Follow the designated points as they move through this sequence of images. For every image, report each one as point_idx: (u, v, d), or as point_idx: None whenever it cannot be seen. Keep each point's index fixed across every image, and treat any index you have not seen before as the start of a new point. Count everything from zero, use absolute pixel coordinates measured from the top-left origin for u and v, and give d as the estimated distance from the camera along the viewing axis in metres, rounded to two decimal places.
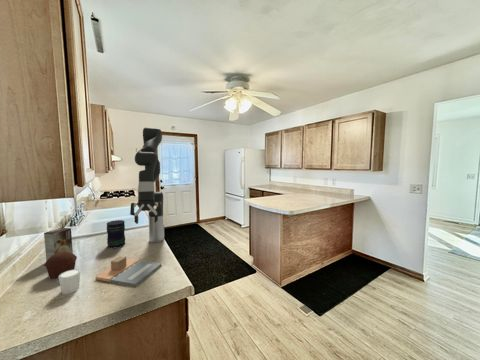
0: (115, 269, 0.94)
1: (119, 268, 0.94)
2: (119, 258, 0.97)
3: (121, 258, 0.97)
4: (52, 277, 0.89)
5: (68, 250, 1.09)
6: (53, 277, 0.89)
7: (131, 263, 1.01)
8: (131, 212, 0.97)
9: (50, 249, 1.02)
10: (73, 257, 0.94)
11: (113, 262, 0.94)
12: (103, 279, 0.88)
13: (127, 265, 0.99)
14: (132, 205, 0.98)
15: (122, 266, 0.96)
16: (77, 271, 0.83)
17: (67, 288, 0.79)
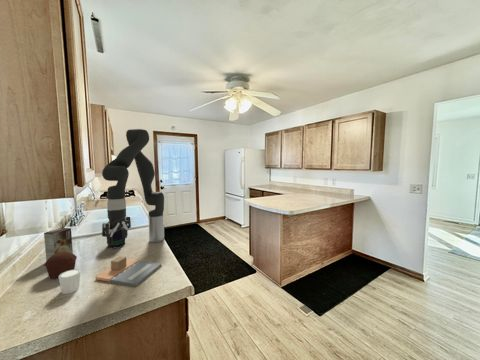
0: (115, 269, 0.94)
1: (119, 268, 0.94)
2: (119, 258, 0.97)
3: (121, 258, 0.97)
4: (52, 277, 0.89)
5: (68, 250, 1.09)
6: (53, 277, 0.89)
7: (131, 263, 1.01)
8: (107, 234, 0.88)
9: (50, 249, 1.02)
10: (73, 257, 0.94)
11: (113, 262, 0.94)
12: (103, 279, 0.88)
13: (127, 265, 0.99)
14: (108, 226, 0.89)
15: (122, 266, 0.96)
16: (77, 271, 0.83)
17: (67, 288, 0.79)
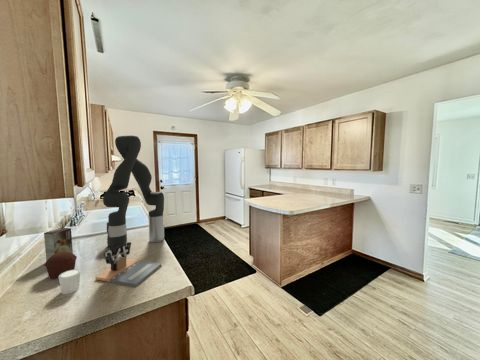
0: None
1: (119, 268, 0.94)
2: (119, 258, 0.97)
3: (121, 258, 0.97)
4: (52, 277, 0.89)
5: (68, 250, 1.09)
6: (53, 277, 0.89)
7: (131, 263, 1.01)
8: (111, 261, 0.91)
9: (50, 249, 1.02)
10: (73, 257, 0.94)
11: None
12: (103, 279, 0.88)
13: (127, 265, 0.99)
14: (109, 255, 0.90)
15: (122, 266, 0.96)
16: (77, 271, 0.83)
17: (67, 288, 0.79)
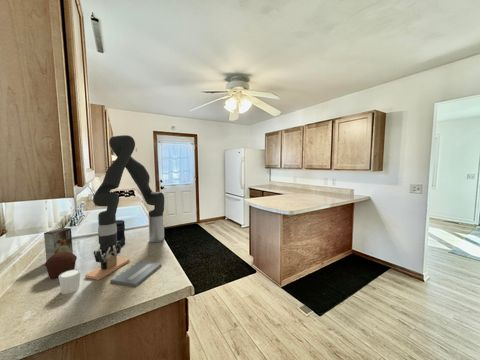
0: None
1: (109, 266, 0.96)
2: (109, 257, 0.98)
3: (111, 257, 0.98)
4: (52, 277, 0.89)
5: (68, 250, 1.09)
6: (53, 277, 0.89)
7: (122, 262, 1.02)
8: (101, 260, 0.92)
9: (50, 249, 1.02)
10: (73, 257, 0.94)
11: None
12: (93, 277, 0.89)
13: (117, 264, 1.00)
14: (99, 253, 0.91)
15: (112, 265, 0.97)
16: (77, 271, 0.83)
17: (67, 288, 0.79)
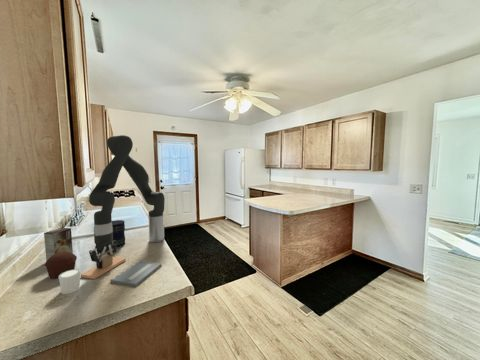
0: None
1: (105, 266, 0.96)
2: (105, 256, 0.99)
3: (107, 256, 0.99)
4: (52, 277, 0.89)
5: (68, 250, 1.09)
6: (53, 277, 0.89)
7: (117, 261, 1.03)
8: (96, 259, 0.93)
9: (50, 249, 1.02)
10: (73, 257, 0.94)
11: None
12: (88, 276, 0.90)
13: (113, 263, 1.01)
14: (95, 253, 0.92)
15: (108, 264, 0.98)
16: (77, 271, 0.83)
17: (67, 288, 0.79)
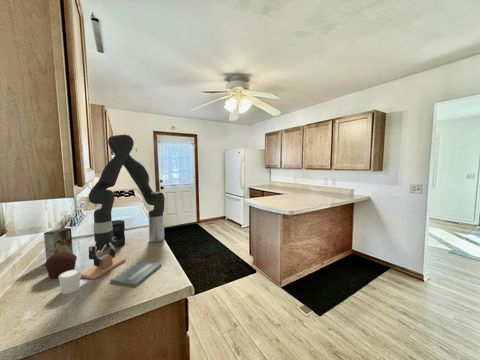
0: (101, 267, 0.96)
1: (105, 266, 0.96)
2: (105, 256, 0.99)
3: (107, 256, 0.99)
4: (52, 277, 0.89)
5: (68, 250, 1.09)
6: (53, 277, 0.89)
7: (117, 261, 1.03)
8: (94, 256, 0.91)
9: (50, 249, 1.02)
10: (73, 257, 0.94)
11: (99, 260, 0.96)
12: (88, 276, 0.90)
13: (113, 263, 1.01)
14: (94, 249, 0.92)
15: (108, 264, 0.98)
16: (77, 271, 0.83)
17: (67, 288, 0.79)
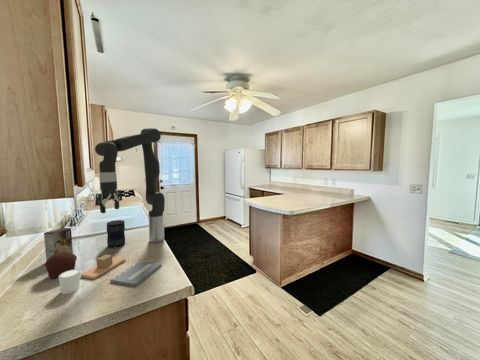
0: (101, 267, 0.96)
1: (105, 266, 0.96)
2: (105, 256, 0.99)
3: (107, 256, 0.99)
4: (52, 277, 0.89)
5: (68, 250, 1.09)
6: (53, 277, 0.89)
7: (117, 261, 1.03)
8: (100, 203, 0.99)
9: (50, 249, 1.02)
10: (73, 257, 0.94)
11: (99, 260, 0.96)
12: (88, 276, 0.90)
13: (113, 263, 1.01)
14: (100, 196, 0.99)
15: (108, 264, 0.98)
16: (77, 271, 0.83)
17: (67, 288, 0.79)
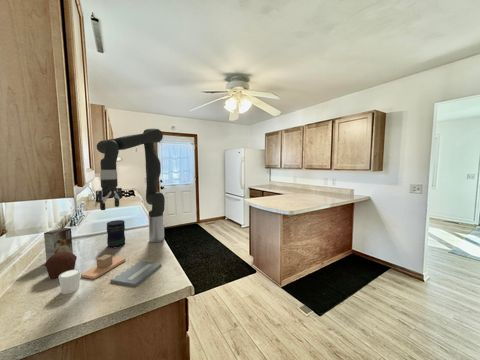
0: (101, 267, 0.96)
1: (105, 266, 0.96)
2: (105, 256, 0.99)
3: (107, 256, 0.99)
4: (52, 277, 0.89)
5: (68, 250, 1.09)
6: (53, 277, 0.89)
7: (117, 261, 1.03)
8: (100, 200, 0.99)
9: (50, 249, 1.02)
10: (73, 257, 0.94)
11: (99, 260, 0.96)
12: (88, 276, 0.90)
13: (113, 263, 1.01)
14: (101, 193, 0.99)
15: (108, 264, 0.98)
16: (77, 271, 0.83)
17: (67, 288, 0.79)
